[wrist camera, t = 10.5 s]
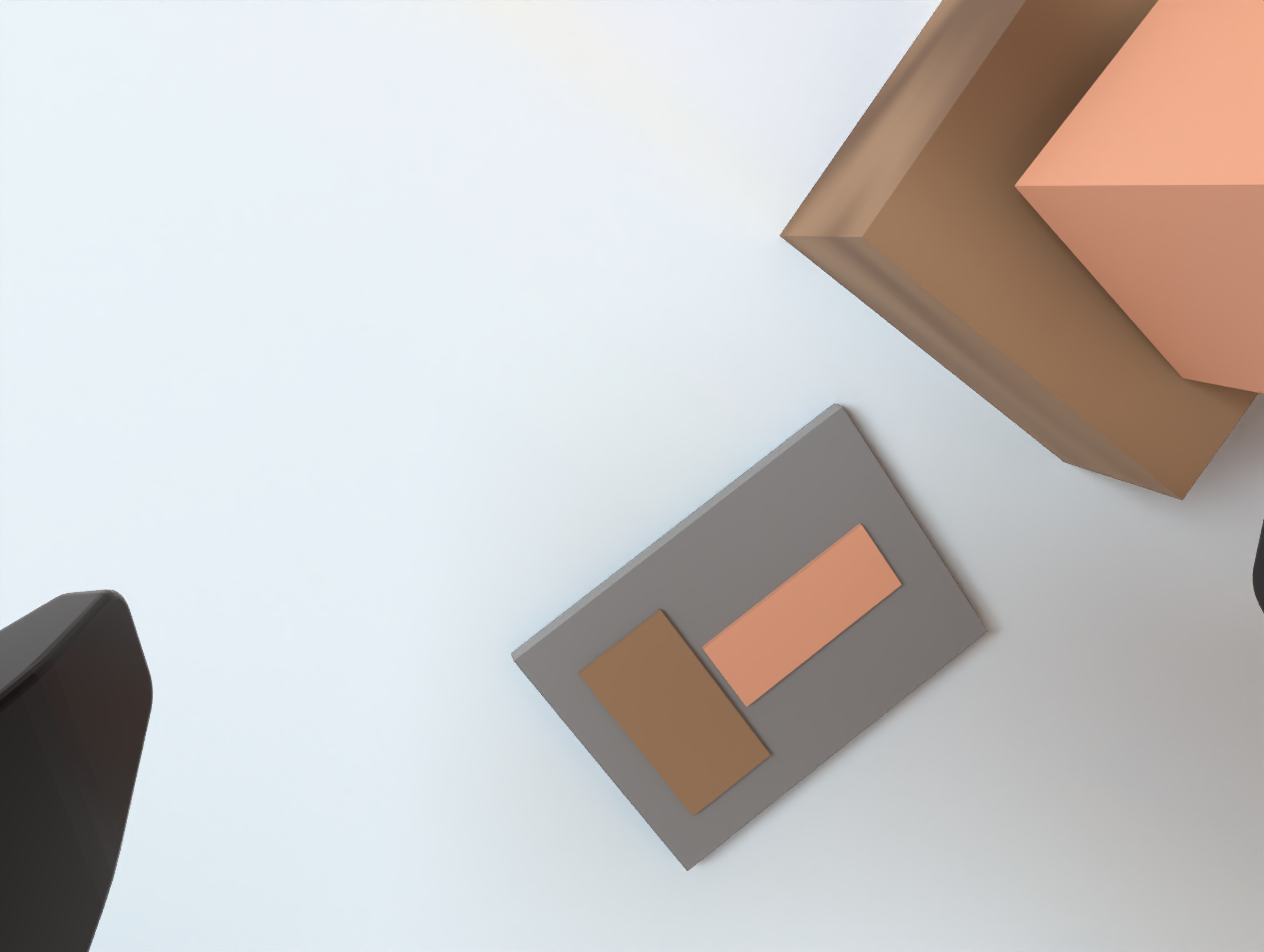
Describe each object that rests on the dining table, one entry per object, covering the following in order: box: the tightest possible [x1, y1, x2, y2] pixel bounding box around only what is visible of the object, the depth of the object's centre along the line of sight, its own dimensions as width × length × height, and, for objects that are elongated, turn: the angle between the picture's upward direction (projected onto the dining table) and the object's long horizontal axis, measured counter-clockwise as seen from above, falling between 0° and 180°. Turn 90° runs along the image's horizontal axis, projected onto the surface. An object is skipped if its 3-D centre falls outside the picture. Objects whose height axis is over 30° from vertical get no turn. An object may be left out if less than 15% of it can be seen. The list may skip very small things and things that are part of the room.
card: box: [511, 404, 987, 871], centre depth 24 cm, size 8×6×1 cm
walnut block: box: [780, 0, 1258, 500], centre depth 22 cm, size 8×8×4 cm
